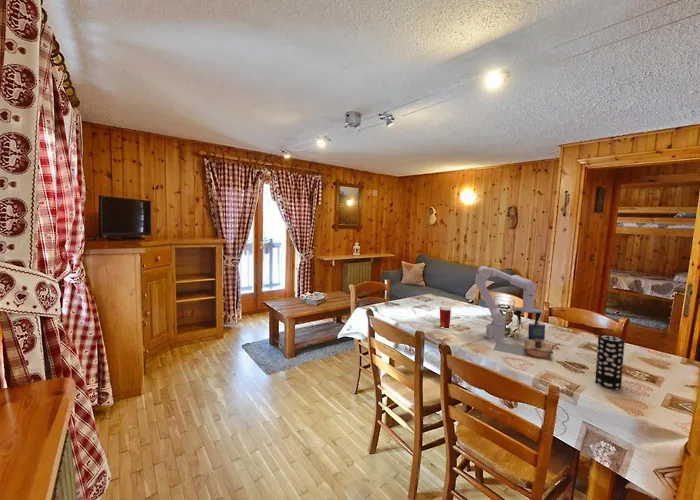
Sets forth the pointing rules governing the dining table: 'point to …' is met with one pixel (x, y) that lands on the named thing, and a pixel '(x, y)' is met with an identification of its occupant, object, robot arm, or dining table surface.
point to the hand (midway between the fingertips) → (527, 324)
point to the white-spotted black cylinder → (609, 361)
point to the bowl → (537, 353)
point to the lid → (538, 346)
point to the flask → (536, 331)
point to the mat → (509, 348)
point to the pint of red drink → (445, 316)
